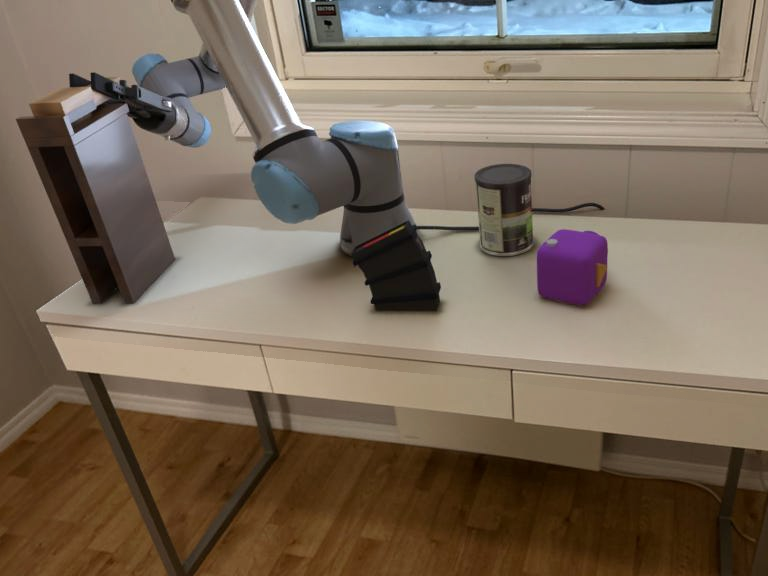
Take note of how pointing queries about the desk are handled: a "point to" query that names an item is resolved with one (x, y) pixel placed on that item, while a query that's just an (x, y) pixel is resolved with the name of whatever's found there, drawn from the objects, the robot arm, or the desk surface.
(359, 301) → the desk surface
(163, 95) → the robot arm
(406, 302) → the magazine
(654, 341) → the desk surface
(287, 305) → the desk surface
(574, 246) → the toy camera
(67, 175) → the shelf
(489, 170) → the coffee can
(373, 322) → the desk surface
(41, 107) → the tan block
